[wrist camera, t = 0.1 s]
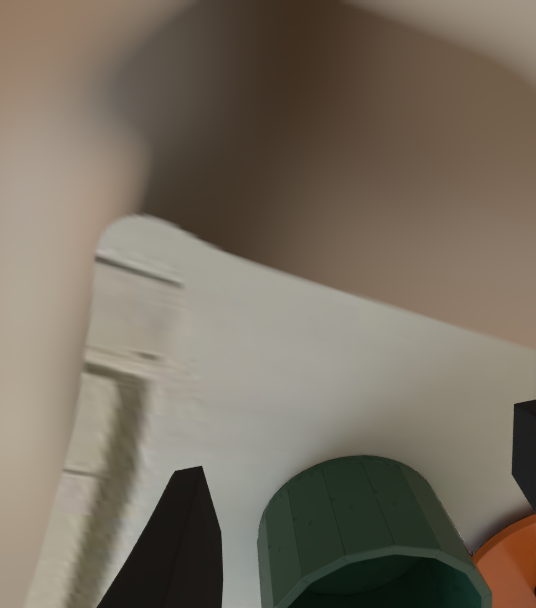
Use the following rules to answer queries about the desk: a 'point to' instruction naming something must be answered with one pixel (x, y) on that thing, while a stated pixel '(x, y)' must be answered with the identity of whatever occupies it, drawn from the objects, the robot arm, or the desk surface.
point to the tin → (364, 542)
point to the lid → (511, 565)
